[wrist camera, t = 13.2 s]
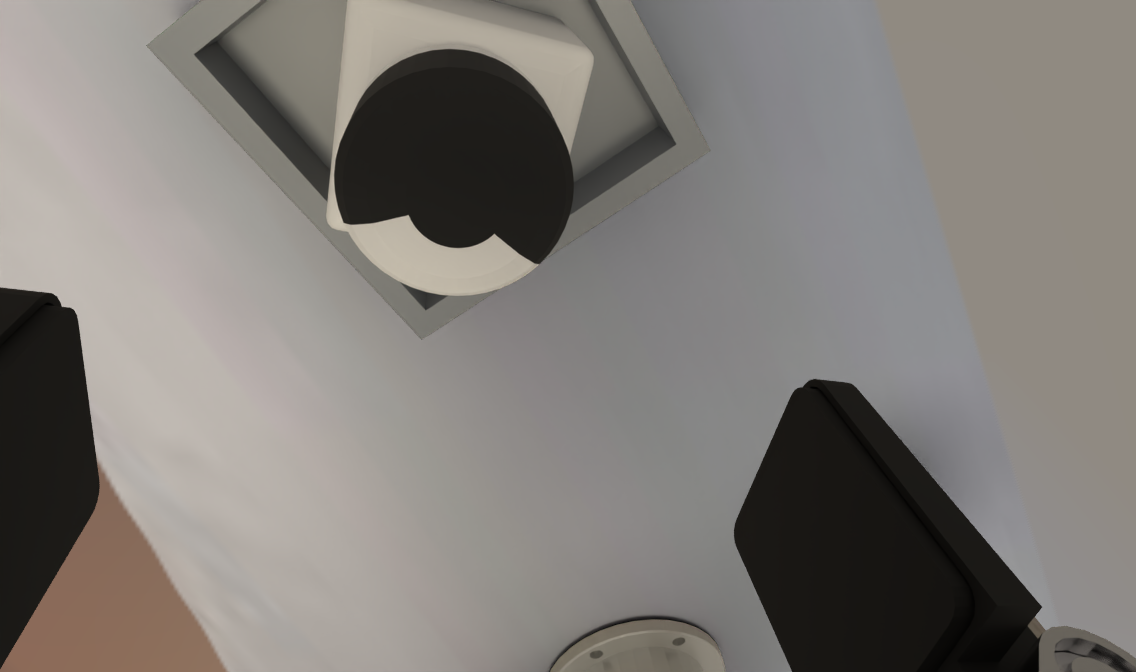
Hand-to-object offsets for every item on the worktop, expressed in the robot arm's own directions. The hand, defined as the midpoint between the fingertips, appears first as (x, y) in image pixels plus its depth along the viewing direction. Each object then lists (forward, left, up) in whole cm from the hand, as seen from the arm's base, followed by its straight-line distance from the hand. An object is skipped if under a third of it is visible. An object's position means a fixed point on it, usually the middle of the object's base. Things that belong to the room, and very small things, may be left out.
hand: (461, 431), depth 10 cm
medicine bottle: (0, 0, -22) cm, 22 cm away
